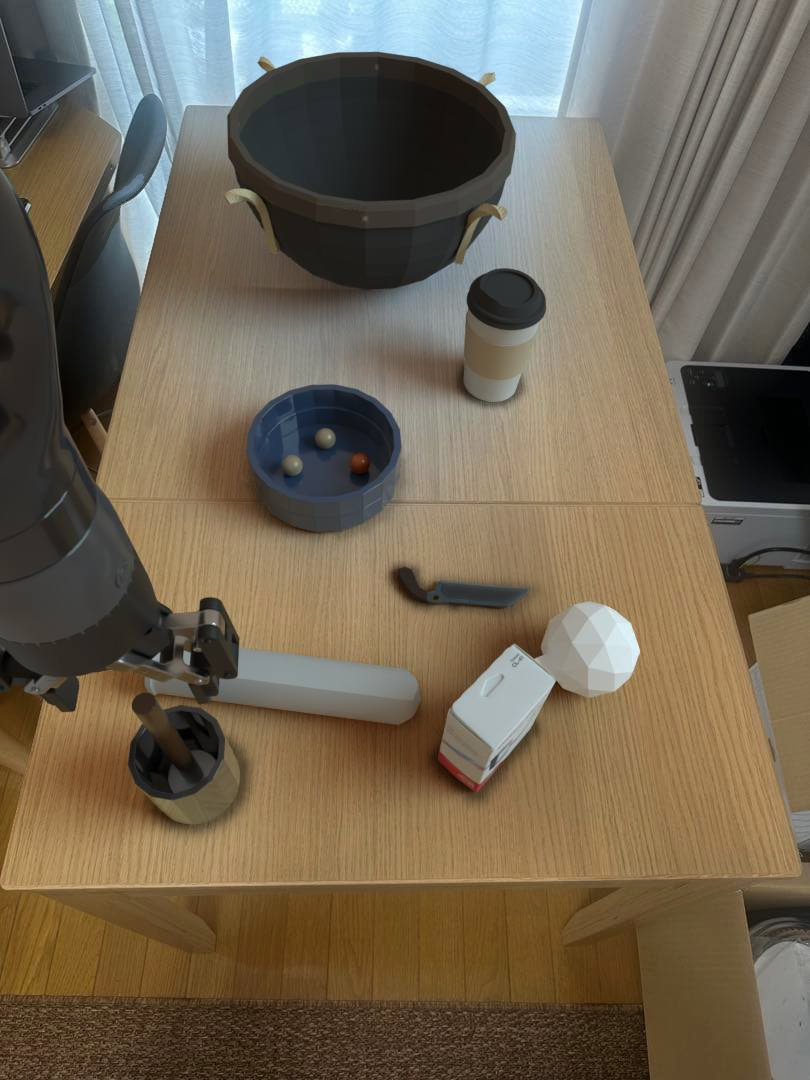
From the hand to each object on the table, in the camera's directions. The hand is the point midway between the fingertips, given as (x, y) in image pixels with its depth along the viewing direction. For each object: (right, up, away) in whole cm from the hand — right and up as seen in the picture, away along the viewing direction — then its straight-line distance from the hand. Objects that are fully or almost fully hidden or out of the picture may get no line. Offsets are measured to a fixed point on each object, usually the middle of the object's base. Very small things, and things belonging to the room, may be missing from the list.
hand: (139, 693), depth 48 cm
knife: (+23, +5, +29) cm, 38 cm away
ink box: (+25, -9, +21) cm, 34 cm away
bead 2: (+8, +22, +37) cm, 44 cm away
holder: (-1, -11, +18) cm, 21 cm away
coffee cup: (+28, +30, +46) cm, 62 cm away
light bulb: (+33, -3, +25) cm, 42 cm away
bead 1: (+5, +18, +35) cm, 40 cm away
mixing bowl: (+8, +18, +37) cm, 42 cm away
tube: (+6, -4, +23) cm, 24 cm away
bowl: (+12, +50, +58) cm, 77 cm away
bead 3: (+12, +19, +36) cm, 42 cm away
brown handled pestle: (-1, -11, +17) cm, 20 cm away
